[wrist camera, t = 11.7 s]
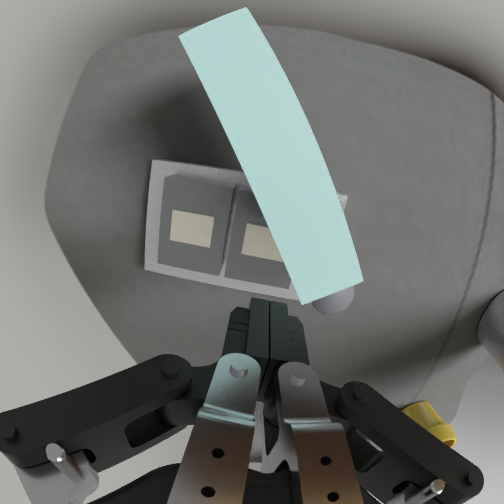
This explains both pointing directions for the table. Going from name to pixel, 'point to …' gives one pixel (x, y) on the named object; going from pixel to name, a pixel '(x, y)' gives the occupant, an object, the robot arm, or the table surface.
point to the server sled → (212, 230)
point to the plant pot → (431, 422)
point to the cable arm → (277, 157)
